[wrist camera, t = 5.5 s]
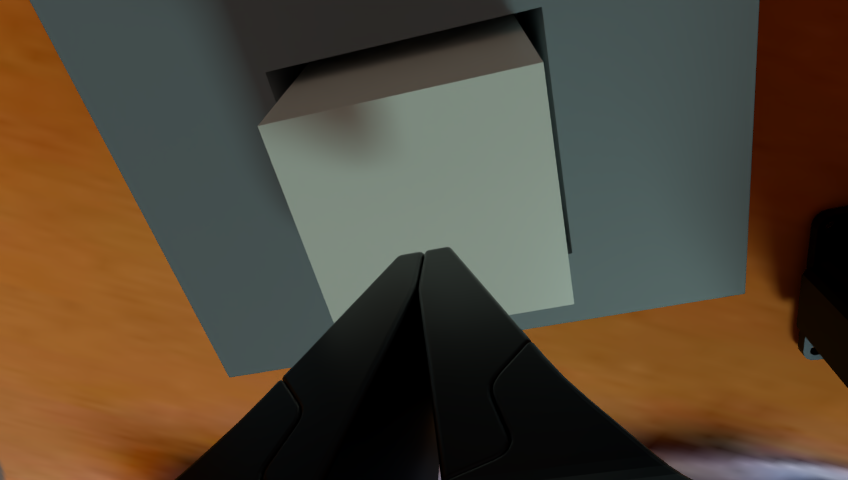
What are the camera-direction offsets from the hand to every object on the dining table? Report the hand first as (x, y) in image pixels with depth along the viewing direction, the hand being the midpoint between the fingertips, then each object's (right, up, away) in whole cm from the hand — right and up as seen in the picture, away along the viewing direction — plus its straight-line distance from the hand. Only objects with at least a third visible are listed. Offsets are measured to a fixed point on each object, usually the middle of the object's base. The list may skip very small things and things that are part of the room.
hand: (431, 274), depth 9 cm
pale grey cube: (0, +3, +6) cm, 7 cm away
